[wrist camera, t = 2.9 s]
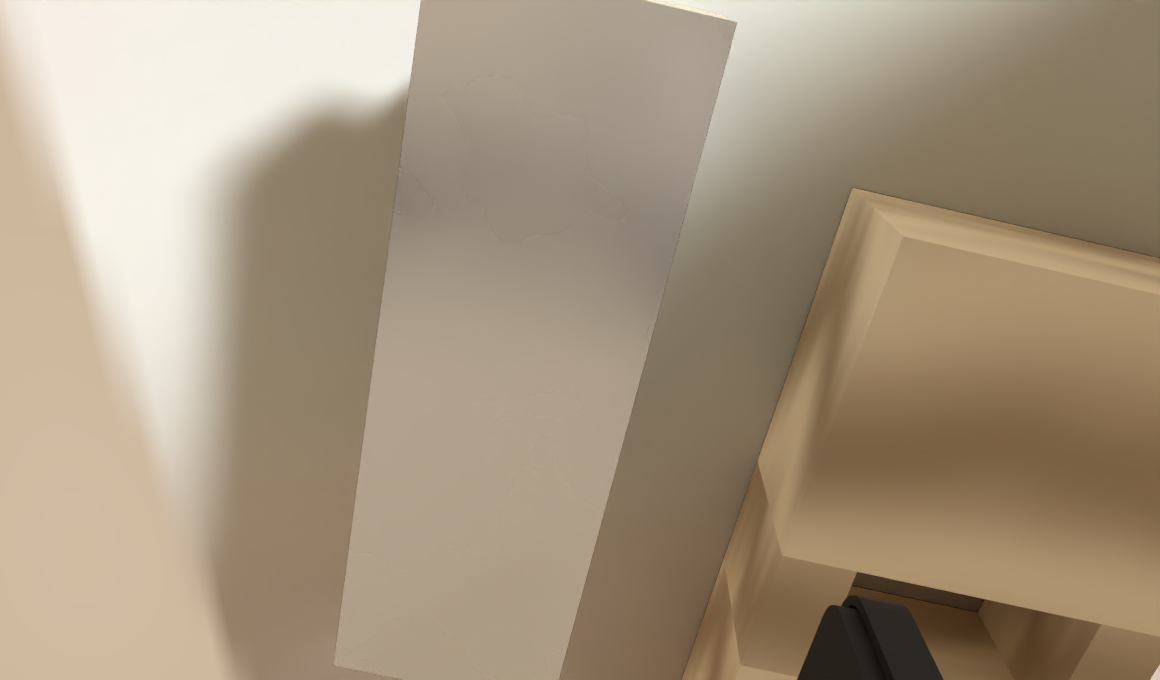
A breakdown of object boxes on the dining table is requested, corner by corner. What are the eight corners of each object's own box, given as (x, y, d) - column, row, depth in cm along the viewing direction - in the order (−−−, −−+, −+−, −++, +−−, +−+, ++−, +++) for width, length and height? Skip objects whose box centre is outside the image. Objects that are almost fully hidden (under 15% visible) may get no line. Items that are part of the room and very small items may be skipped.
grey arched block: (510, -40, 18) (427, -51, 11) (694, 4, 18) (736, 22, 11) (429, 443, 23) (333, 665, 15) (577, 475, 23) (550, 710, 16)
